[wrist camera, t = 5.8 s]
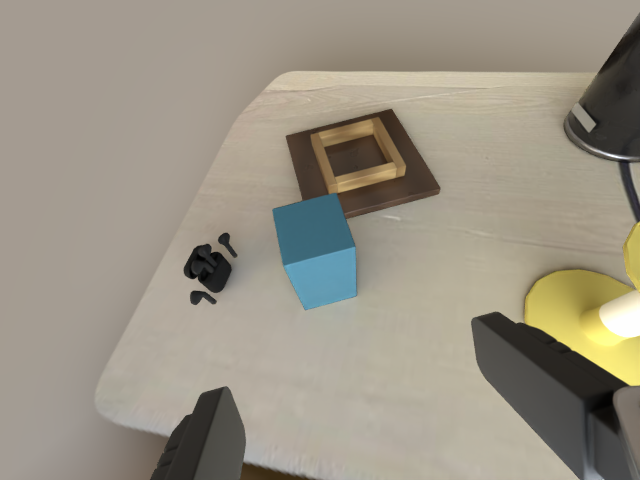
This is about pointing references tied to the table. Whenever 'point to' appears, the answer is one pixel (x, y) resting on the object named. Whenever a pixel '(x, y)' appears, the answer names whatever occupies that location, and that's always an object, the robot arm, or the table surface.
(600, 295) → the candle
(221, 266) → the wireless earbuds
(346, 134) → the square wooden socket base
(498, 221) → the table surface
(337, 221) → the post block
